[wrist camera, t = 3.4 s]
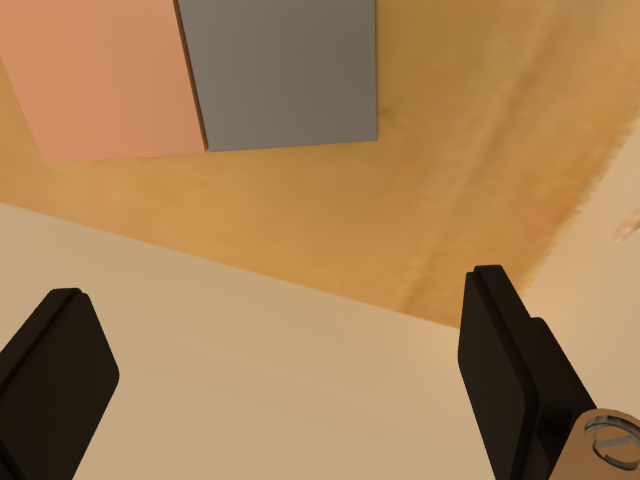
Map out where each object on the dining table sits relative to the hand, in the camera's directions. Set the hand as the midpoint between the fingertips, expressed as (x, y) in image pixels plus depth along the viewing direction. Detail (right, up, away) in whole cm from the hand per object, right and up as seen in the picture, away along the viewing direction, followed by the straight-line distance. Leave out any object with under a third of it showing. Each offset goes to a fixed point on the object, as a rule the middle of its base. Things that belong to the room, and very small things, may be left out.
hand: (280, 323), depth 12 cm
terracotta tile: (-16, +15, +25) cm, 33 cm away
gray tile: (-2, +16, +24) cm, 29 cm away
